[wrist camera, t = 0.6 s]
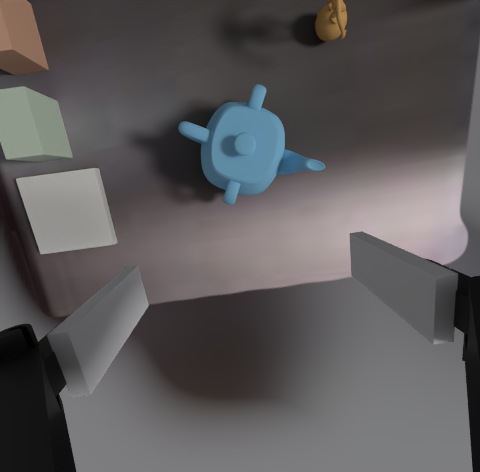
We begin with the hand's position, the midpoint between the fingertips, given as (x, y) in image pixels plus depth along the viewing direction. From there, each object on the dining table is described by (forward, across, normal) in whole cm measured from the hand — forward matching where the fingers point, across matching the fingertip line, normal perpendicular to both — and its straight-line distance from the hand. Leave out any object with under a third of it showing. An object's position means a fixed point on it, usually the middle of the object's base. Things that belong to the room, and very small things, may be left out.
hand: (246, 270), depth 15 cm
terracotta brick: (+26, -26, +28) cm, 46 cm away
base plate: (+26, -26, +4) cm, 37 cm away
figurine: (+26, +15, +23) cm, 38 cm away
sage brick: (+26, -26, +16) cm, 40 cm away
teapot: (+26, +3, +8) cm, 28 cm away
